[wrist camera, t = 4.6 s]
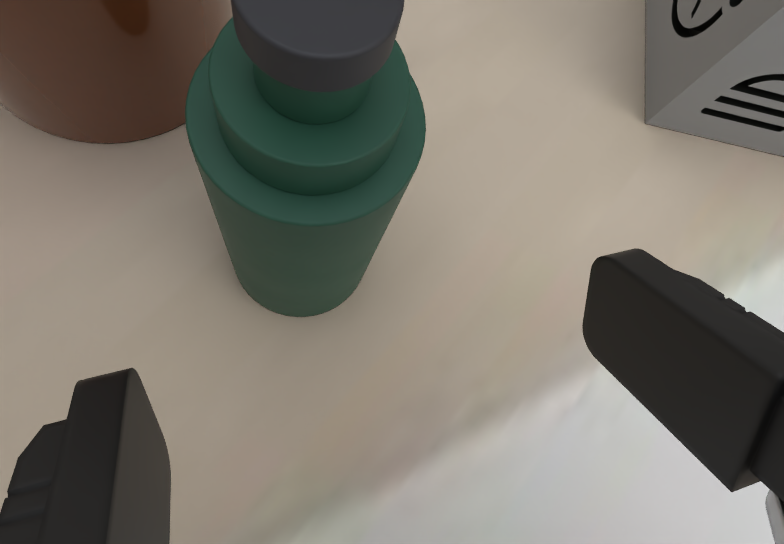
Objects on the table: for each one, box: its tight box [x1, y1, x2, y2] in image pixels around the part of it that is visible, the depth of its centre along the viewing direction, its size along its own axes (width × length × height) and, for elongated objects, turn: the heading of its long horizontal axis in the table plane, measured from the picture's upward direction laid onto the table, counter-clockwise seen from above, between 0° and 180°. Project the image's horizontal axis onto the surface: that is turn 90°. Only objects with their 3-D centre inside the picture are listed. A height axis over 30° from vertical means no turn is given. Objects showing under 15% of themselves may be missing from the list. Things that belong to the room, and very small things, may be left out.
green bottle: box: [185, 0, 426, 317], centre depth 16 cm, size 6×6×15 cm
